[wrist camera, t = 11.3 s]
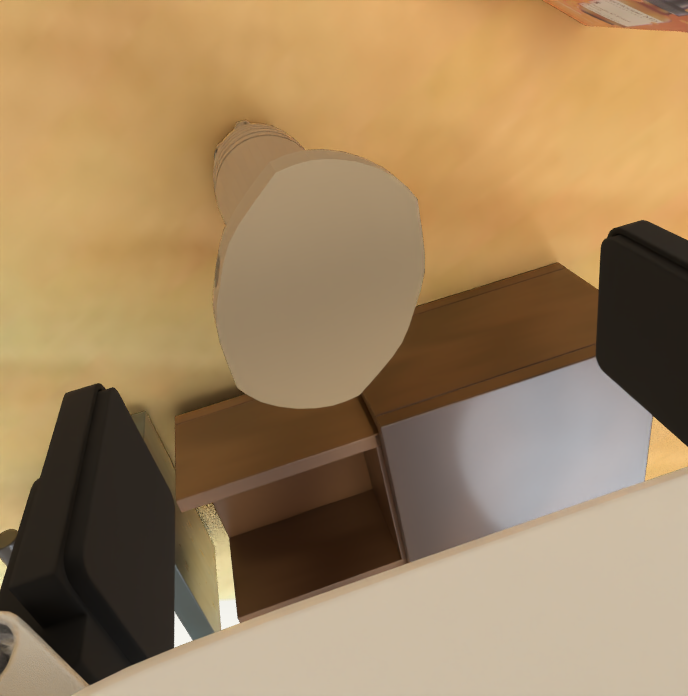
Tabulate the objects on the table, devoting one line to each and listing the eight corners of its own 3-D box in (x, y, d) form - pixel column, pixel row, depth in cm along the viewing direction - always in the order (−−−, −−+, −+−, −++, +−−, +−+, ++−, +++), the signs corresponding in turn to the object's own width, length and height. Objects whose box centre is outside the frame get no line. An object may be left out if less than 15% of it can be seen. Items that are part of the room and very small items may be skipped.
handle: (188, 216, 27) (202, 404, 14) (205, 66, 24) (241, 138, 11) (289, 231, 28) (381, 413, 16) (317, 92, 26) (455, 181, 13)
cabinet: (372, 488, 39) (417, 598, 32) (333, 332, 32) (380, 427, 25) (557, 424, 40) (640, 516, 33) (558, 262, 33) (663, 333, 26)
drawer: (92, 588, 36) (77, 698, 30) (-5, 457, 30) (-47, 565, 24) (383, 488, 38) (420, 574, 32) (349, 345, 32) (388, 421, 26)
